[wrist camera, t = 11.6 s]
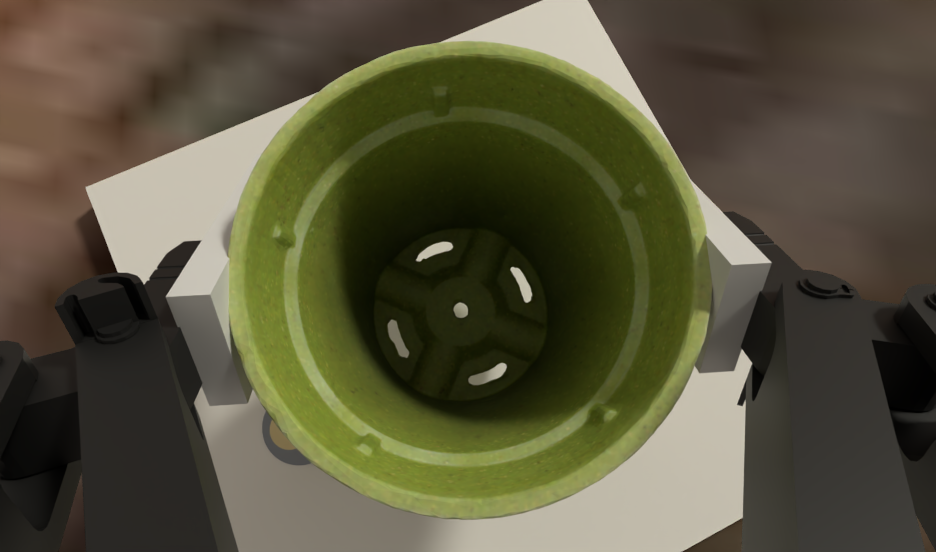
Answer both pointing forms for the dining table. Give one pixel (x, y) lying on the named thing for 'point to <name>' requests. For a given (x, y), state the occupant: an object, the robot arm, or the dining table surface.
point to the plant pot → (468, 279)
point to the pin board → (316, 493)
